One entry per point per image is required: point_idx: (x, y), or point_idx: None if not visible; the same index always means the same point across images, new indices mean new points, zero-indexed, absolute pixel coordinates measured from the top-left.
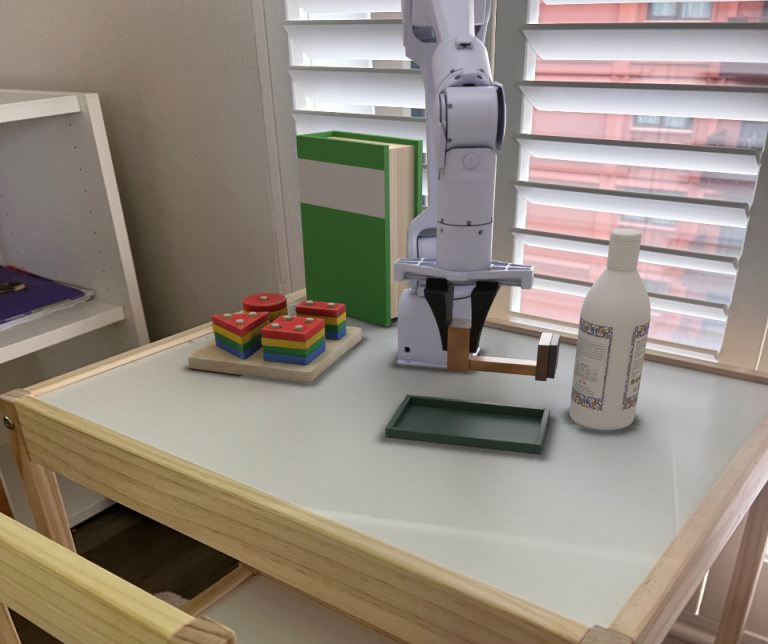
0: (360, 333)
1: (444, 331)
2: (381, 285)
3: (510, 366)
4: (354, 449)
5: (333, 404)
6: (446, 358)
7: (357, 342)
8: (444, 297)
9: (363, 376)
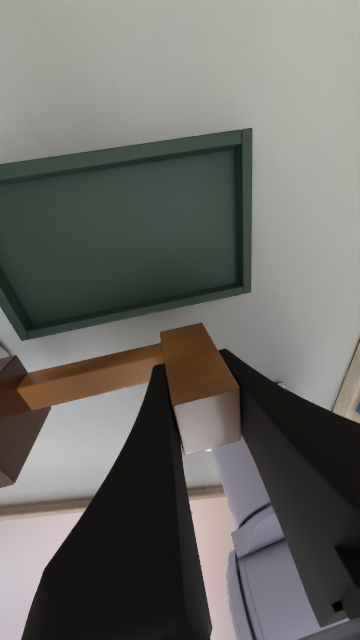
0: None
1: (243, 375)
2: None
3: (77, 370)
4: (285, 63)
5: (343, 245)
6: None
7: (334, 408)
8: (342, 490)
9: (315, 342)
